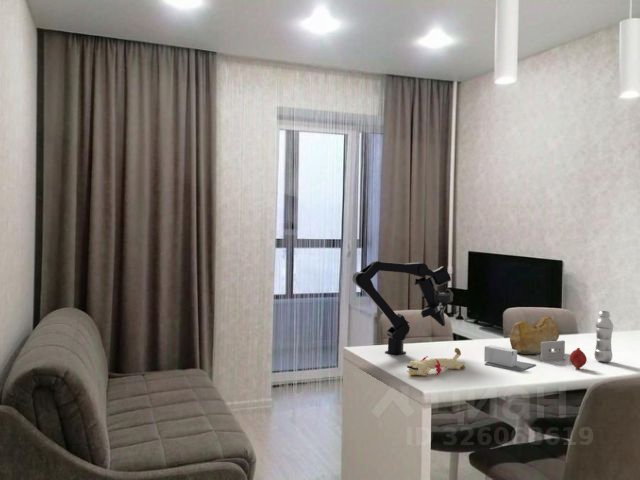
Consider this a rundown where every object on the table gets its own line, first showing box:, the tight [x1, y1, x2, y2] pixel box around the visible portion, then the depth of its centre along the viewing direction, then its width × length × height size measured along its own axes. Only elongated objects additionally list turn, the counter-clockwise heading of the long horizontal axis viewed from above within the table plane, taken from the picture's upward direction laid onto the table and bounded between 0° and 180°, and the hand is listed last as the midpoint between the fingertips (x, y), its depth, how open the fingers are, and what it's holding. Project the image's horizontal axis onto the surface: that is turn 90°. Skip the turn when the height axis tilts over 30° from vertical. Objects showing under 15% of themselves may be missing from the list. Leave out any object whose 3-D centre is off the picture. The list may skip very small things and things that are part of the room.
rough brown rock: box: [509, 315, 560, 355], centre depth 243 cm, size 23×17×15 cm
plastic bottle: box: [593, 310, 614, 363], centre depth 225 cm, size 6×7×20 cm
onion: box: [569, 347, 587, 370], centre depth 212 cm, size 6×6×8 cm
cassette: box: [540, 339, 566, 363], centre depth 225 cm, size 12×2×8 cm, turn 113°
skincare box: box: [483, 344, 518, 367], centre depth 216 cm, size 6×4×12 cm
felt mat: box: [484, 360, 537, 372], centre depth 216 cm, size 14×14×1 cm
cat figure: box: [406, 347, 466, 376], centre depth 202 cm, size 10×9×25 cm
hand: (443, 325), depth 233 cm, fingers closed
